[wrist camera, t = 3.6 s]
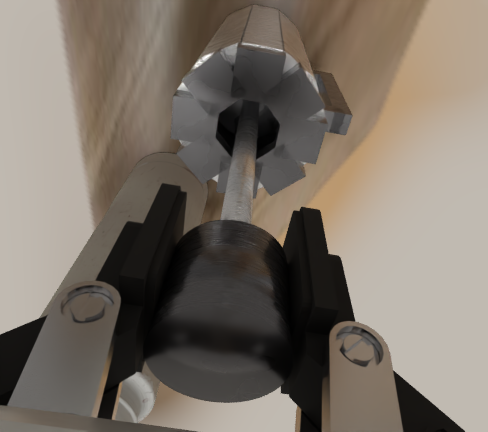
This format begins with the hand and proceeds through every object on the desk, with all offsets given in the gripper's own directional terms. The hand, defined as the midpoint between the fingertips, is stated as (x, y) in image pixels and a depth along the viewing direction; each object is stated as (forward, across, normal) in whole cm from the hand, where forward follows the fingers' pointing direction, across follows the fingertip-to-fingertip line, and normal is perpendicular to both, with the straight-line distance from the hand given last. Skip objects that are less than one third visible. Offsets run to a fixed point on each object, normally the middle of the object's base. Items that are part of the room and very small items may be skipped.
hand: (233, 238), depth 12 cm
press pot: (+25, 0, 0) cm, 25 cm away
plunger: (+14, 0, 0) cm, 14 cm away
